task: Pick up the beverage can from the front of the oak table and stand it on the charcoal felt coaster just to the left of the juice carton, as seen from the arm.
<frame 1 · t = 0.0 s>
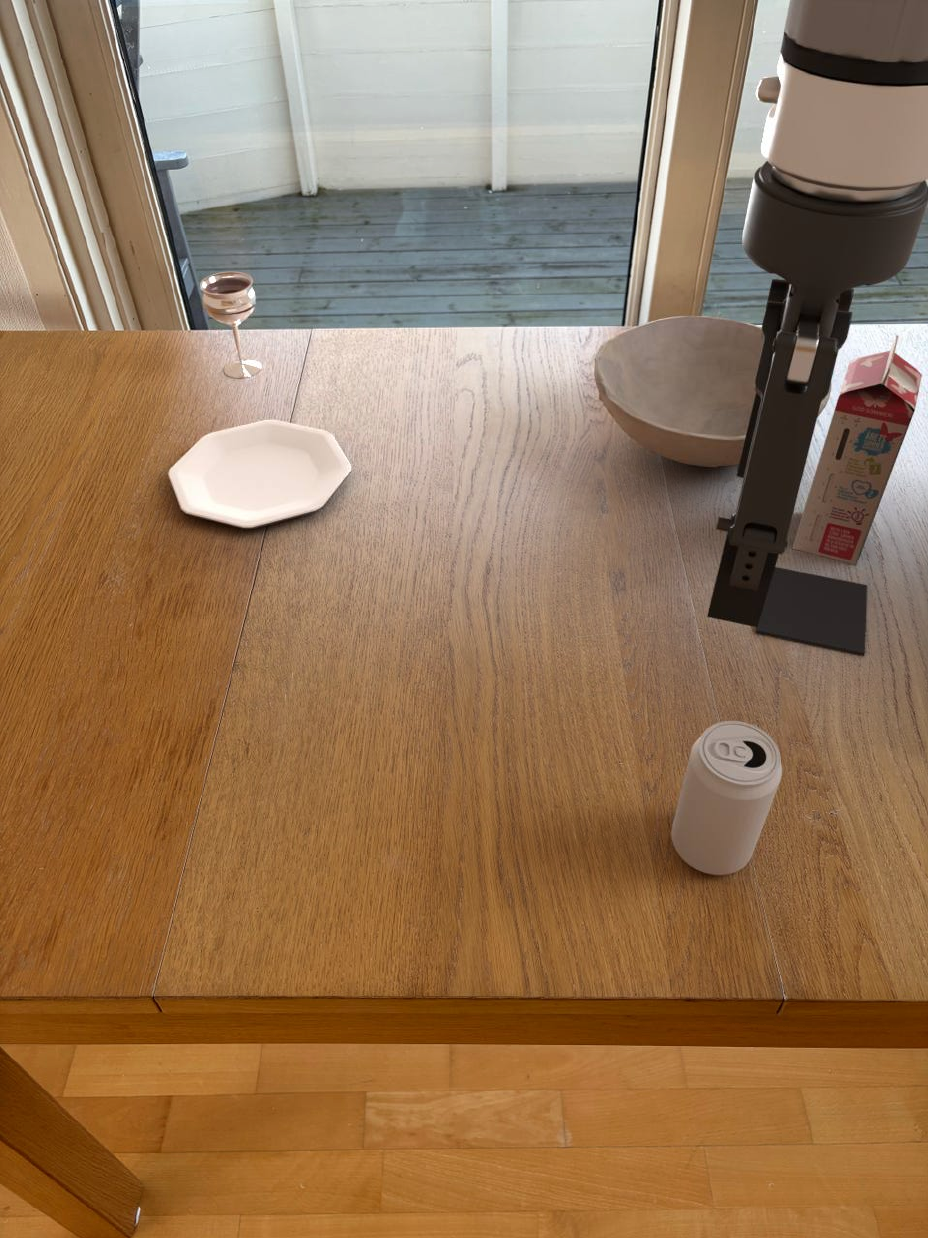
hand: (746, 542, 57), 29 cm above the table, tool pointing down, fingers open, 13 cm apart
beverage can: (709, 845, 75), on the table
coaster: (812, 609, 94), on the table
juice carton: (828, 539, 102), on the table
bowl: (697, 443, 115), on the table
wineglass: (242, 369, 128), on the table
plate: (262, 480, 110), on the table
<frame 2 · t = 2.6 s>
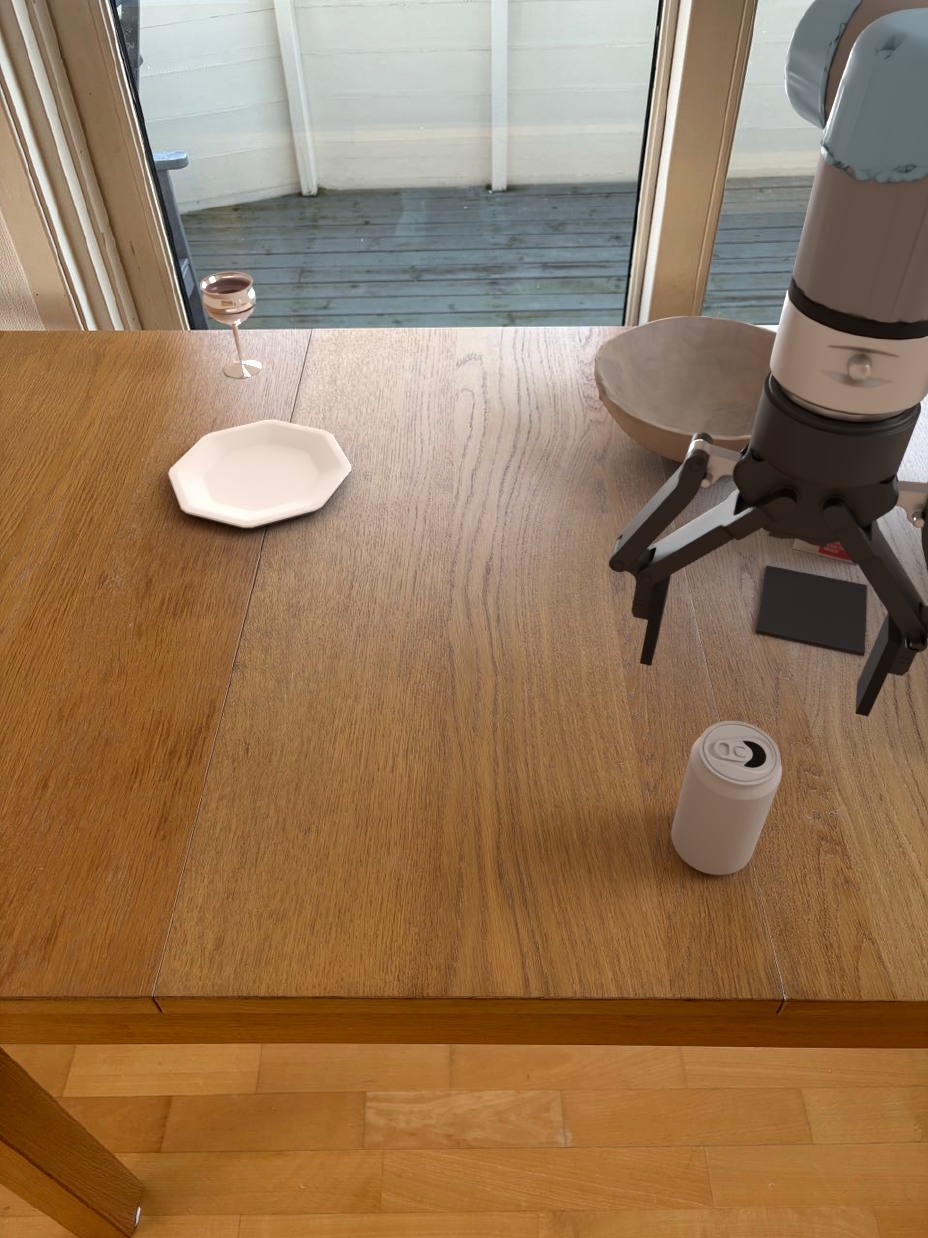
hand: (752, 675, 62), 20 cm above the table, tool pointing down, fingers open, 13 cm apart
nothing on the table moved.
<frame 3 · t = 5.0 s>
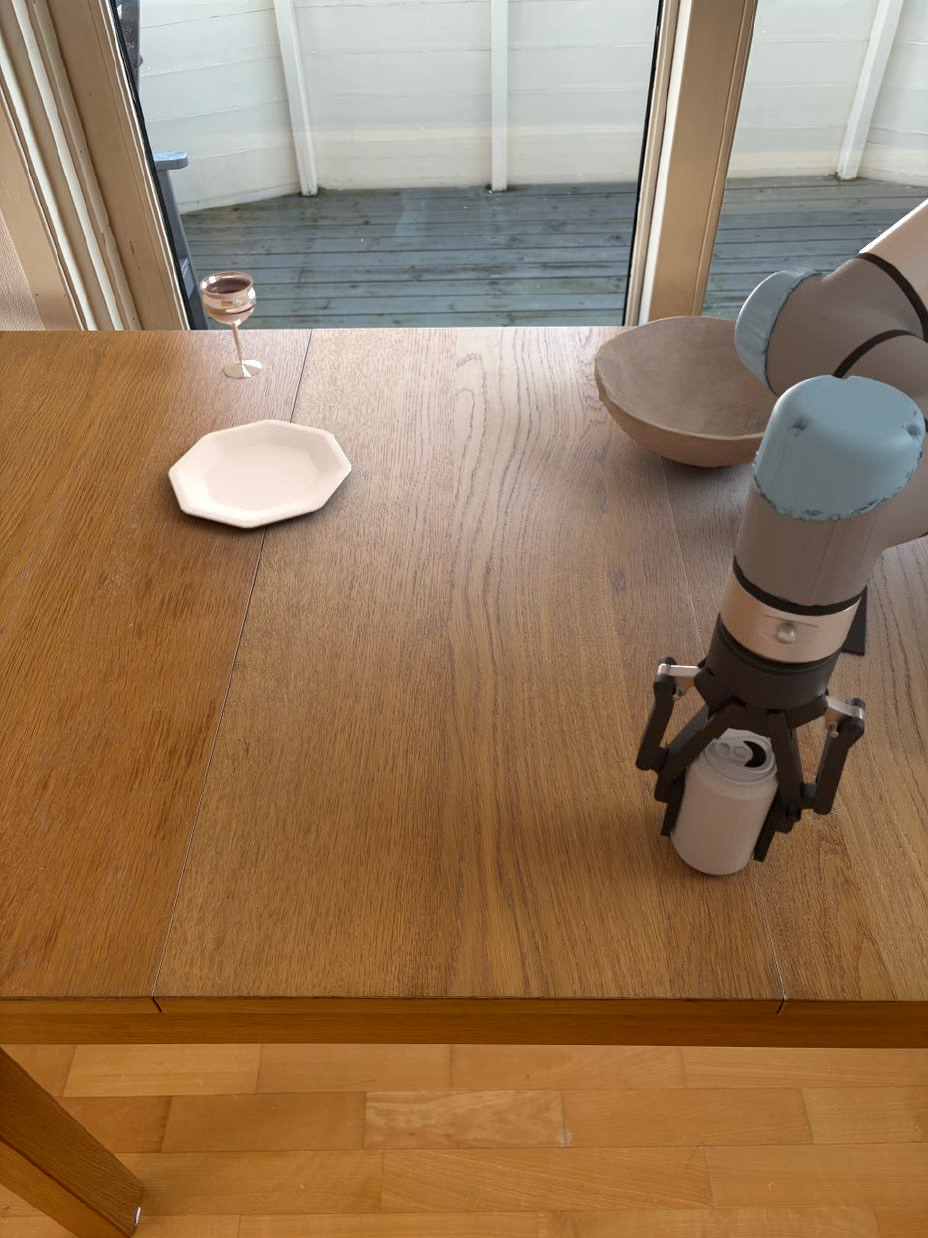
hand: (713, 834, 74), 1 cm above the table, tool pointing down, fingers closed on beverage can, 6 cm apart
beverage can: (709, 845, 75), on the table, touching gripper
everything else where it was.
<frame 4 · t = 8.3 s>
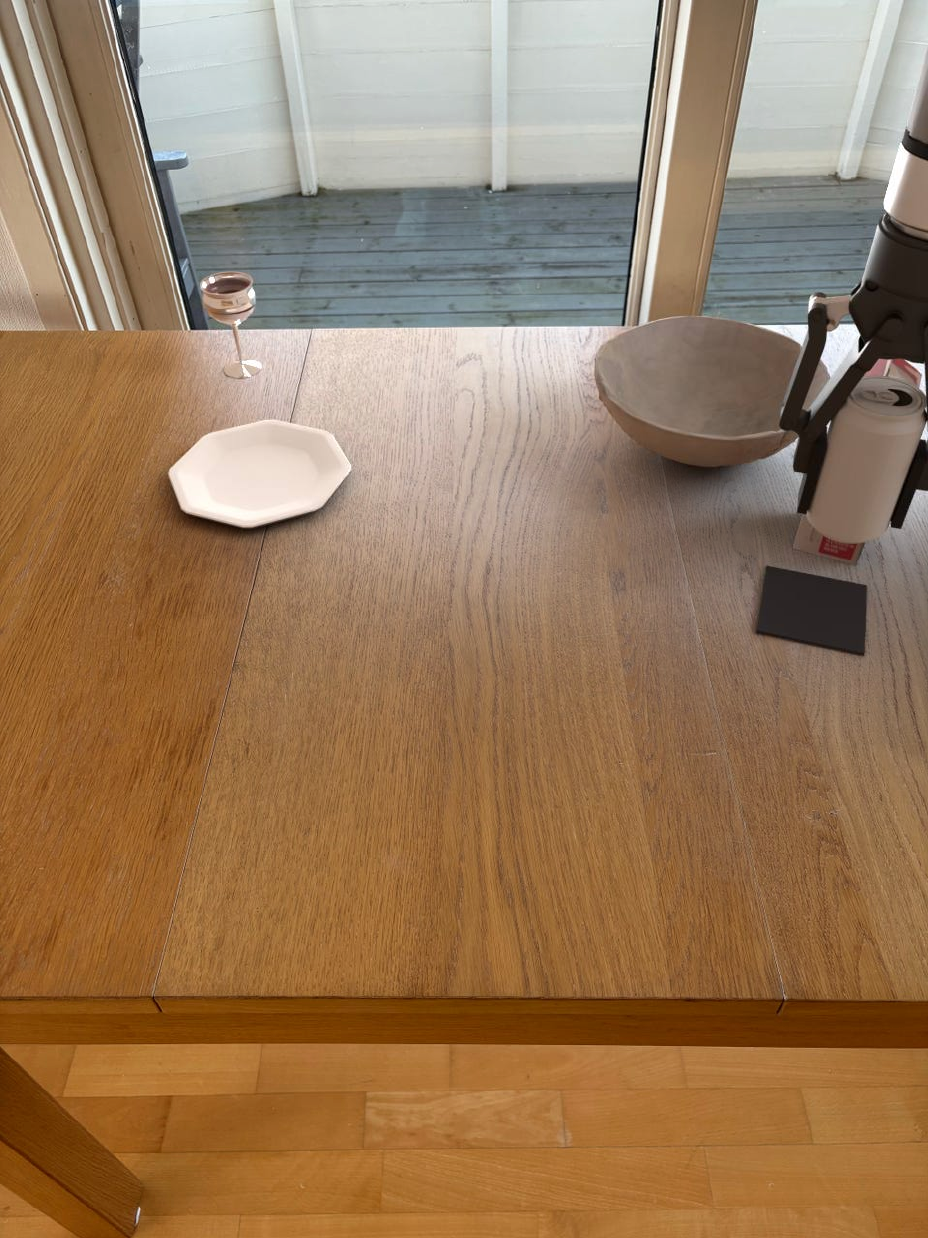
hand: (848, 510, 76), 18 cm above the table, tool pointing down, fingers closed on beverage can, 6 cm apart
beverage can: (843, 526, 77), point 17 cm above the table, touching gripper
everything else where it was.
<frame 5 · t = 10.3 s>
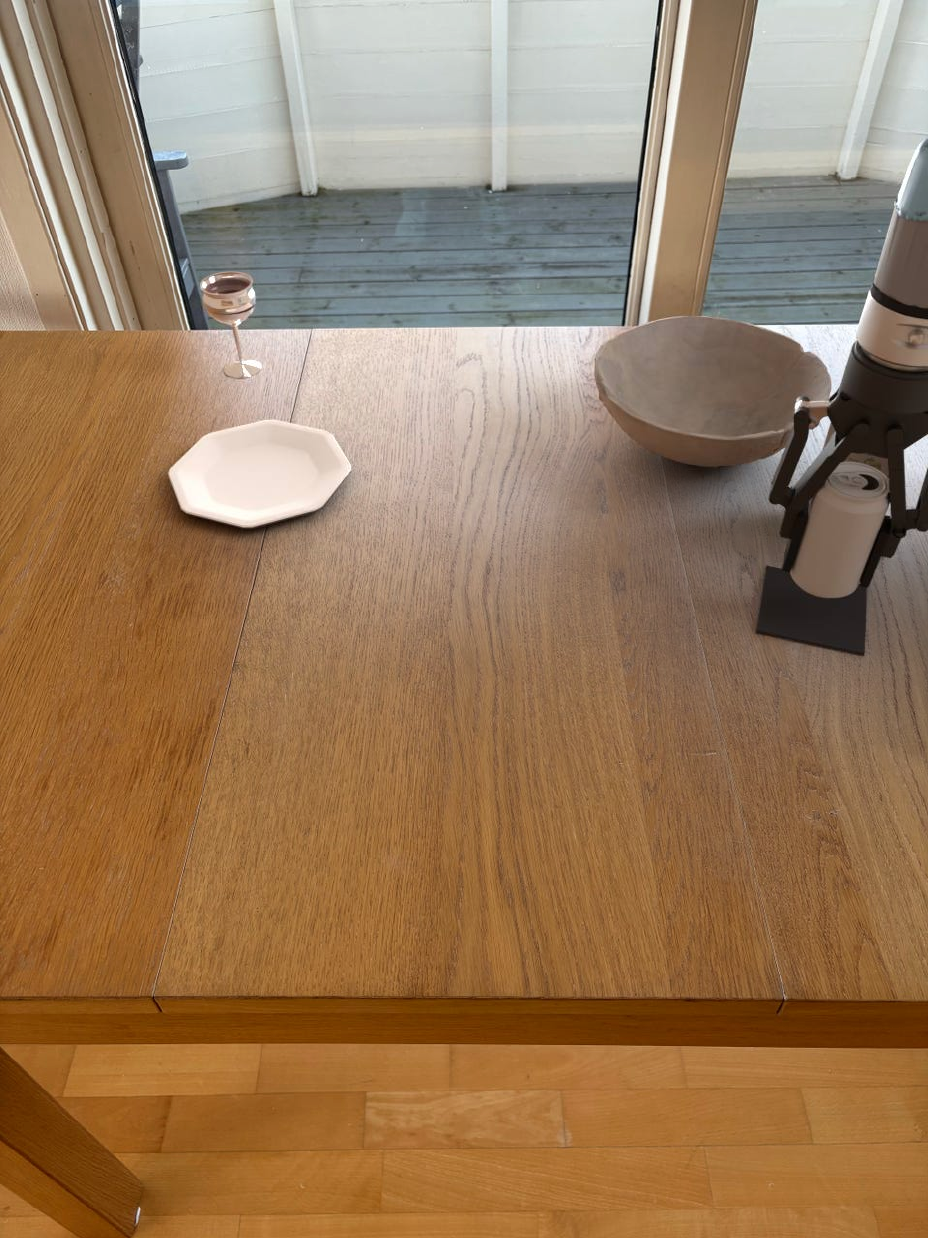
hand: (825, 570, 90), 5 cm above the table, tool pointing down, fingers closed on beverage can, 6 cm apart
beverage can: (821, 582, 91), point 4 cm above the table, touching gripper
everything else where it was.
when the fingers open (2 cm above the table, at t = 11.7 s): beverage can stays where it is, resting on coaster.
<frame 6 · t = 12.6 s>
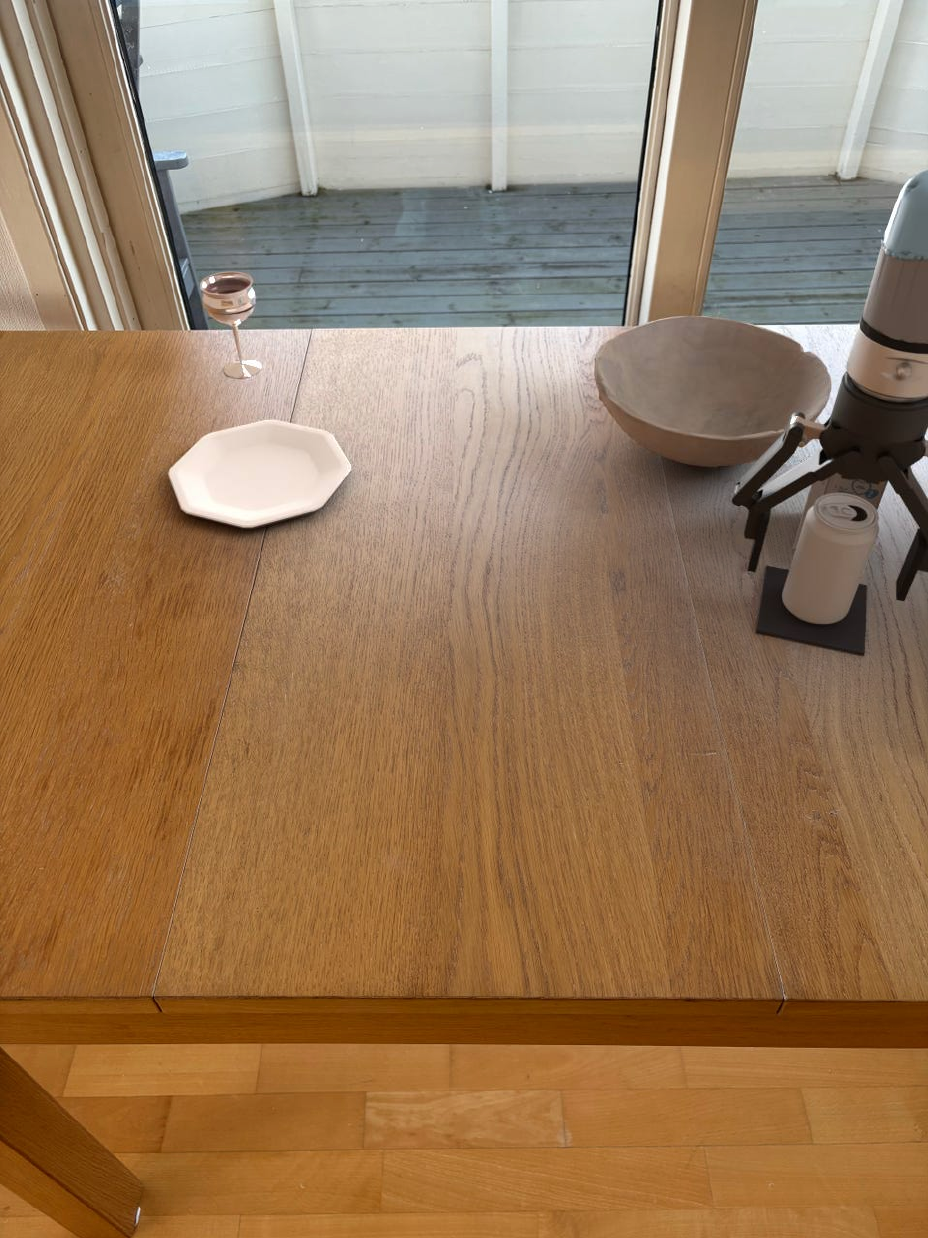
hand: (825, 577, 91), 4 cm above the table, tool pointing down, fingers open, 13 cm apart
beverage can: (812, 608, 94), resting on coaster
everything else where it was.
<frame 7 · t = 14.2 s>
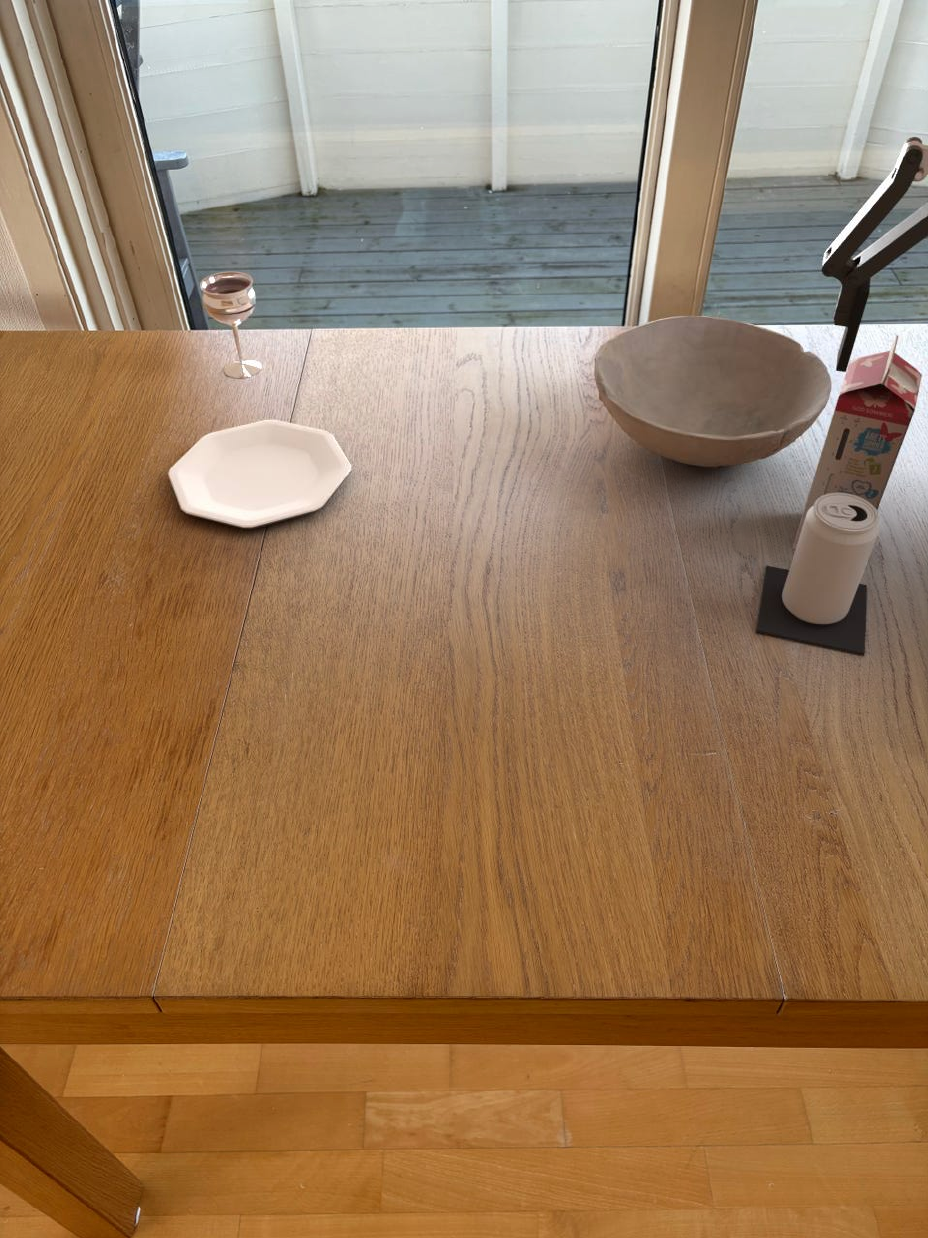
nothing on the table moved.
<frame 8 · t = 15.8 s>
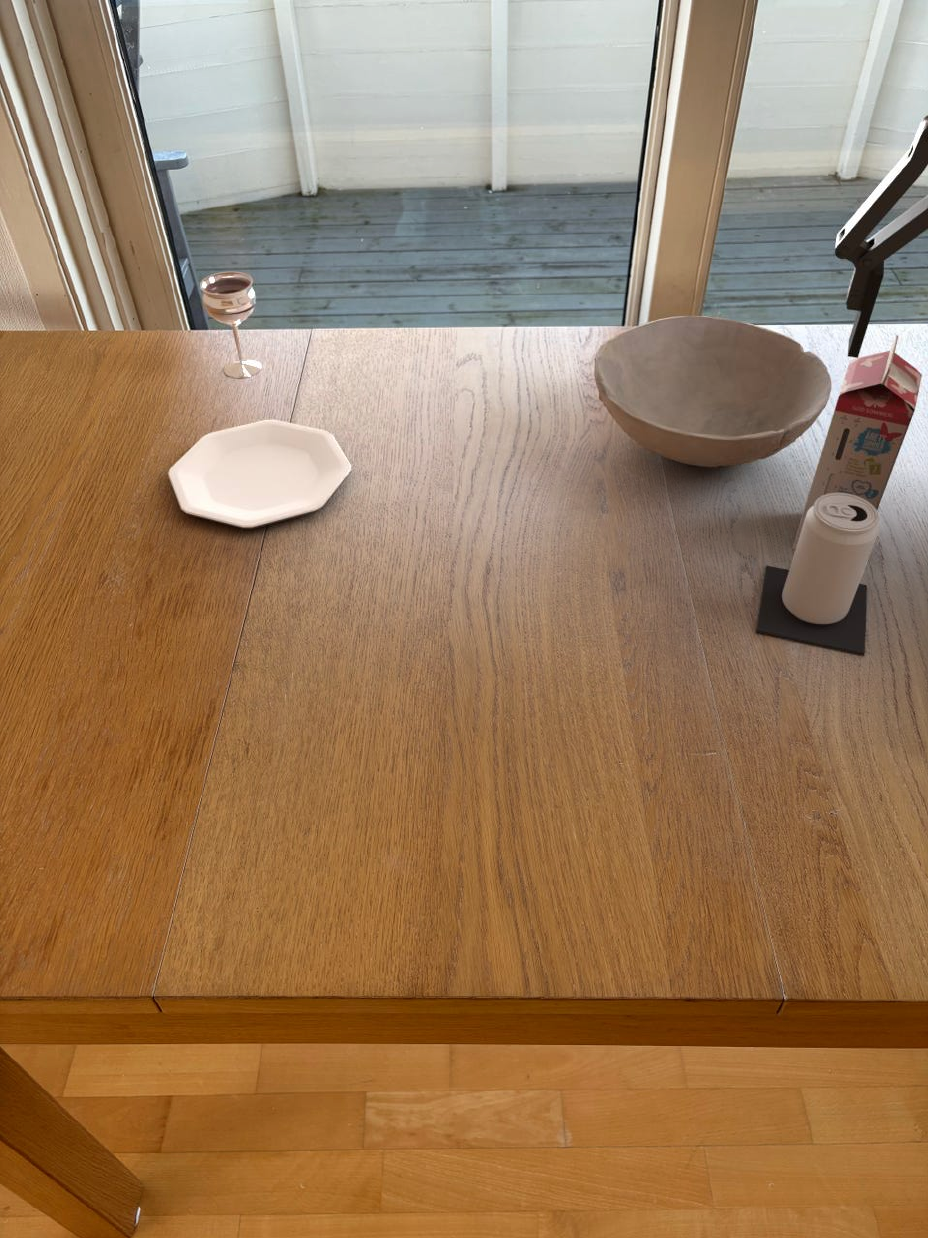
nothing on the table moved.
at the end: beverage can inside the target area on the table beside the juice carton (0.2 cm from its centre), resting on coaster; beverage can tilted 0°; juice carton moved 0.2 cm from its start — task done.
